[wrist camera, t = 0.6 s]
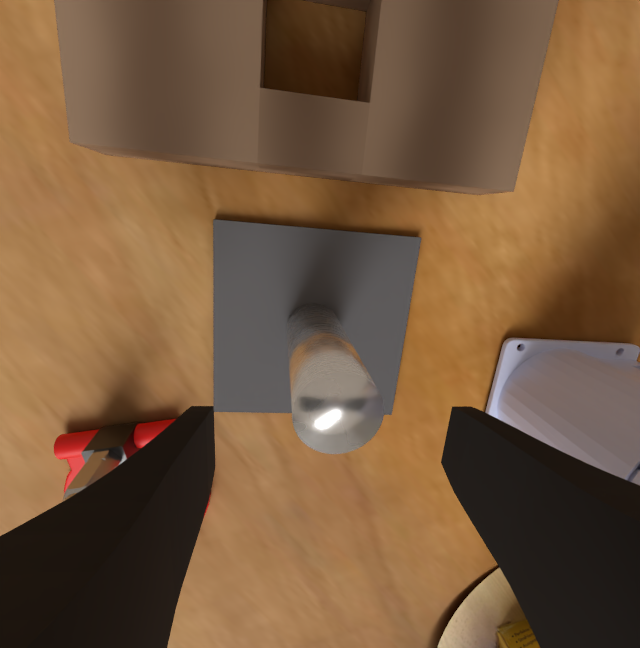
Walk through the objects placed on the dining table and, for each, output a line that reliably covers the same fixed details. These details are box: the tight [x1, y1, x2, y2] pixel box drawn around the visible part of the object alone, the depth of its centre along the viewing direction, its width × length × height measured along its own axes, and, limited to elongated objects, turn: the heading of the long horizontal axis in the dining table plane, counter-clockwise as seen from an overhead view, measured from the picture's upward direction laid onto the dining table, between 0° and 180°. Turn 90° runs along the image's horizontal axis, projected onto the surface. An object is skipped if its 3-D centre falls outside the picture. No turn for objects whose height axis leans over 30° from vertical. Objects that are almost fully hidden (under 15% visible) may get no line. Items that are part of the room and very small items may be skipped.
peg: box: [287, 303, 384, 454], centre depth 15 cm, size 3×3×9 cm
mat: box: [213, 219, 421, 415], centre depth 20 cm, size 11×11×1 cm
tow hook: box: [54, 419, 211, 516], centre depth 16 cm, size 8×13×9 cm
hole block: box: [54, 0, 559, 195], centre depth 15 cm, size 19×10×3 cm, turn 85°
